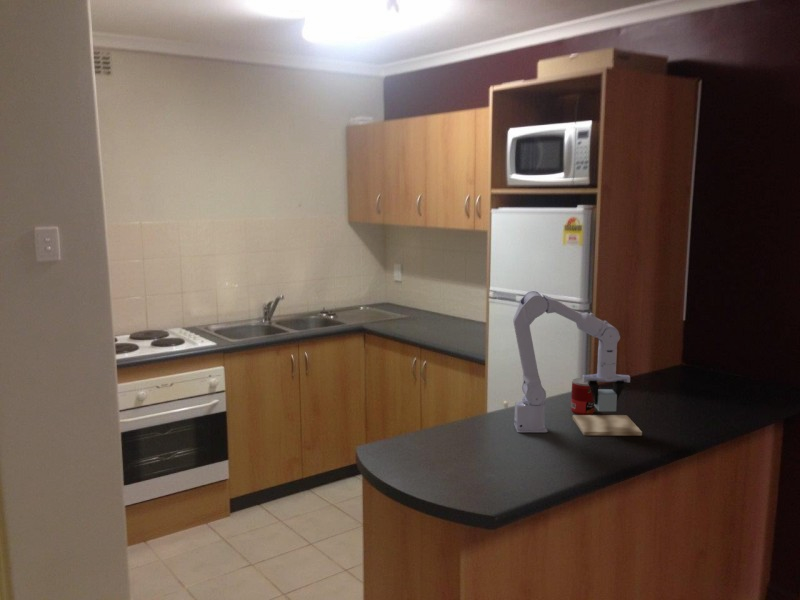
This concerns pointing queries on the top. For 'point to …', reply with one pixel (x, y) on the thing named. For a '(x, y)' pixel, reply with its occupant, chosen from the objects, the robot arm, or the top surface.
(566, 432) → the top surface
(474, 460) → the top surface
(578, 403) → the canned food
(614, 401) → the cube
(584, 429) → the board
